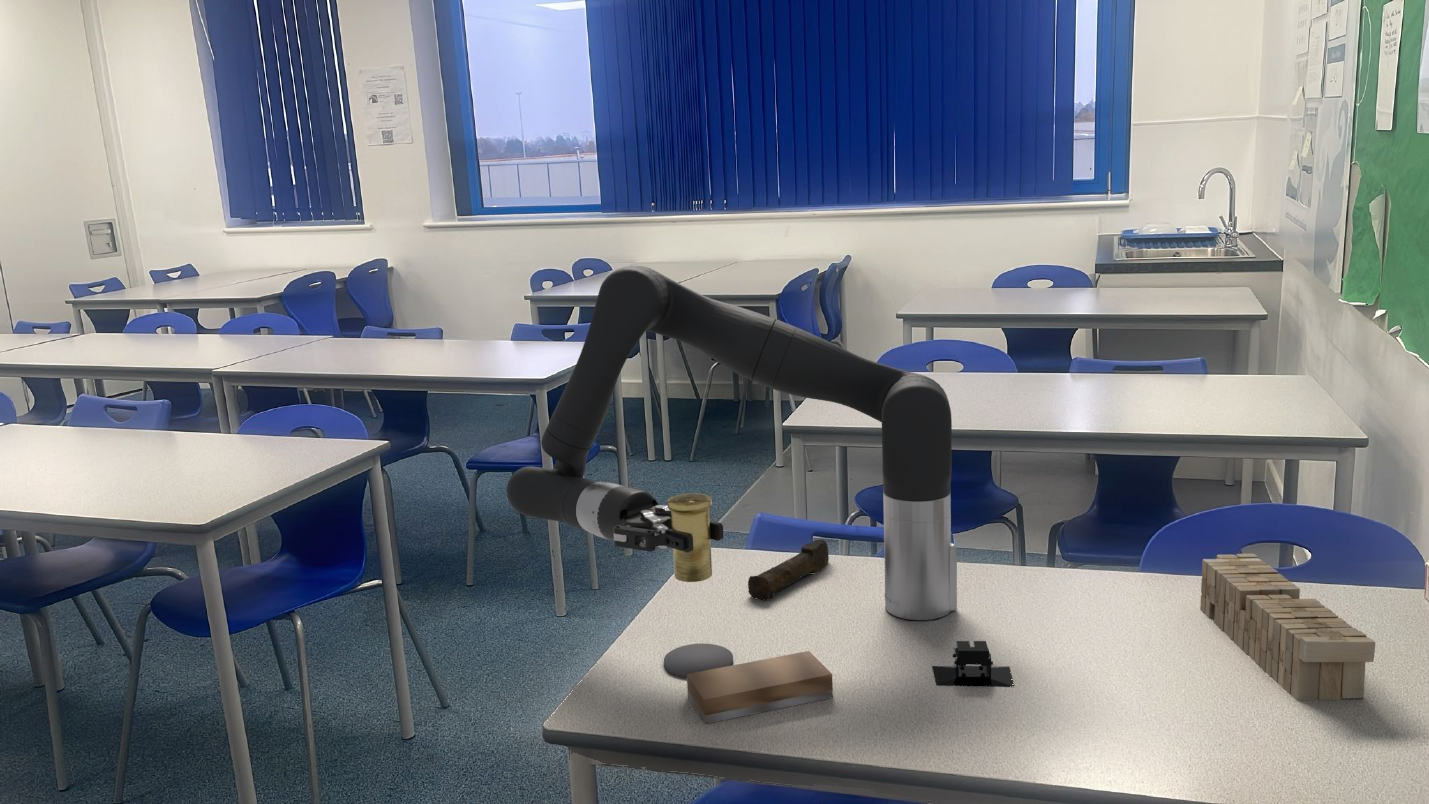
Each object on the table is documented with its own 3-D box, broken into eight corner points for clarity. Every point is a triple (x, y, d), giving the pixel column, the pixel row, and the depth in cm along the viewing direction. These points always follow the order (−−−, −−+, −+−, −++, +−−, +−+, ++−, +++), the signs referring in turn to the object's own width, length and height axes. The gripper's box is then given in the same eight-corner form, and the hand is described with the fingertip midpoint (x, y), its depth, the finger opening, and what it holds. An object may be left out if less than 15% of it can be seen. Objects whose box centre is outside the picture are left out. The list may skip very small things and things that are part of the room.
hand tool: (767, 604, 157) (766, 575, 156) (747, 598, 159) (745, 569, 158) (843, 566, 170) (842, 539, 169) (823, 561, 173) (822, 534, 172)
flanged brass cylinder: (707, 564, 139) (704, 491, 137) (721, 579, 134) (717, 502, 132) (666, 570, 138) (662, 496, 136) (678, 585, 132) (674, 508, 130)
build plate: (1020, 667, 134) (1020, 633, 133) (1029, 695, 127) (1029, 659, 126) (919, 666, 135) (919, 633, 134) (923, 694, 128) (922, 658, 127)
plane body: (809, 673, 134) (809, 650, 133) (832, 697, 127) (832, 674, 127) (687, 697, 129) (686, 674, 129) (705, 723, 123) (704, 699, 122)
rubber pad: (720, 643, 144) (720, 638, 144) (742, 670, 135) (742, 666, 135) (656, 654, 141) (655, 650, 141) (674, 683, 133) (674, 679, 133)
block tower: (1195, 613, 149) (1300, 708, 120) (1196, 555, 147) (1303, 637, 118) (1253, 611, 148) (1372, 706, 120) (1255, 553, 147) (1376, 635, 118)
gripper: (573, 499, 139) (663, 524, 127) (654, 474, 149) (744, 495, 137) (577, 553, 140) (666, 583, 129) (657, 525, 150) (746, 550, 139)
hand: (706, 538), depth 133 cm, fingers closed on flanged brass cylinder, 4 cm apart
